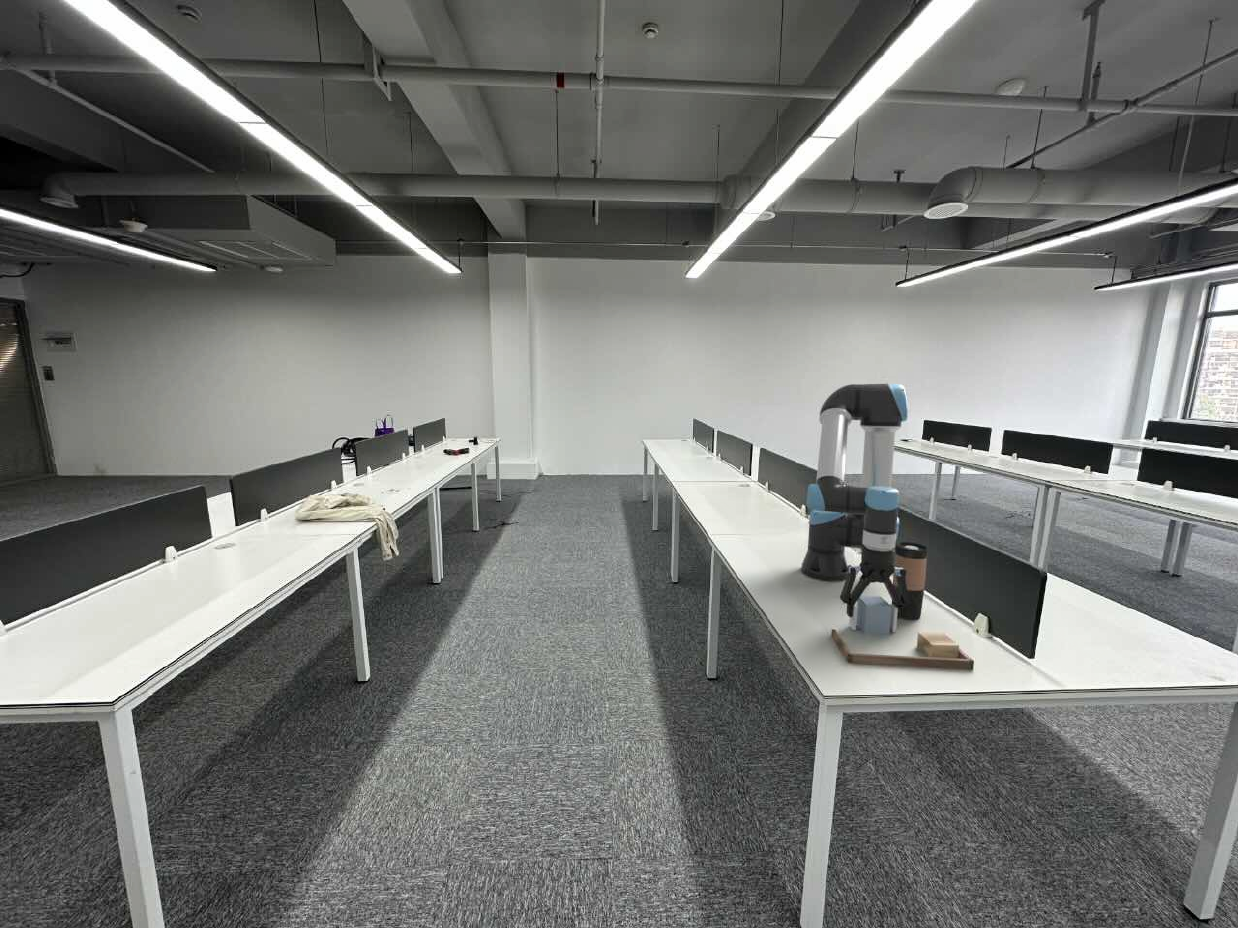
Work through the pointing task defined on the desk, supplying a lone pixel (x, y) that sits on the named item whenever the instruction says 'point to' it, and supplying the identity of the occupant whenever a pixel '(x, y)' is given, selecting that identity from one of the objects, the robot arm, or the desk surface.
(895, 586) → the travel mug
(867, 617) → the slate block
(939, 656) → the oak block
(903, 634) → the desk surface
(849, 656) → the bay
